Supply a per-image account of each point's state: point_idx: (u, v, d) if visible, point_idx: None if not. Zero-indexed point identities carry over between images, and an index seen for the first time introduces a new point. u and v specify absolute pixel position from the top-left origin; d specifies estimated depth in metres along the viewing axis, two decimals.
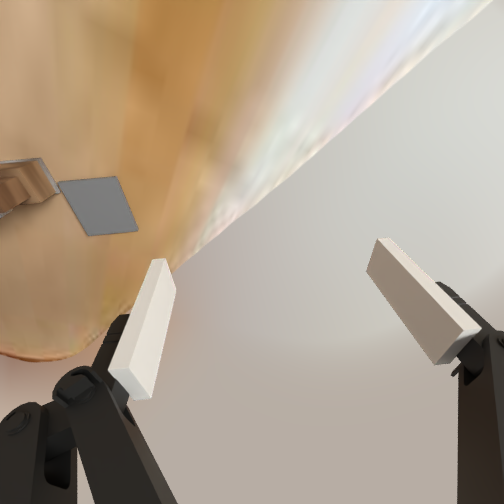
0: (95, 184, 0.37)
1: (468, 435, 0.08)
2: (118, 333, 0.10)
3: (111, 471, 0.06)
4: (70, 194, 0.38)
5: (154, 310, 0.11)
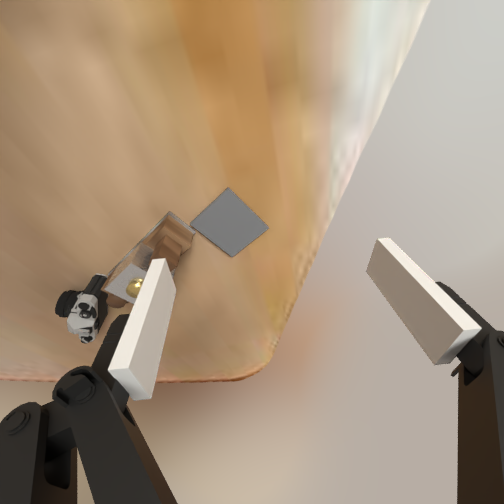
0: (216, 207, 0.37)
1: (468, 435, 0.08)
2: (118, 333, 0.10)
3: (111, 471, 0.06)
4: (203, 228, 0.39)
5: (154, 310, 0.11)
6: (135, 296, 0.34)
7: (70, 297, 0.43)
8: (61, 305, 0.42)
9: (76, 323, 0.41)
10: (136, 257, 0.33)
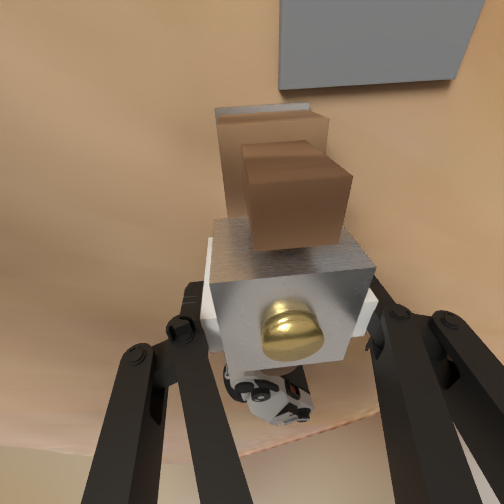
0: None
1: (386, 408, 0.09)
2: (193, 296, 0.12)
3: (199, 406, 0.08)
4: (319, 65, 0.12)
5: None
6: (301, 354, 0.11)
7: None
8: (232, 390, 0.26)
9: (265, 410, 0.22)
10: (218, 257, 0.10)
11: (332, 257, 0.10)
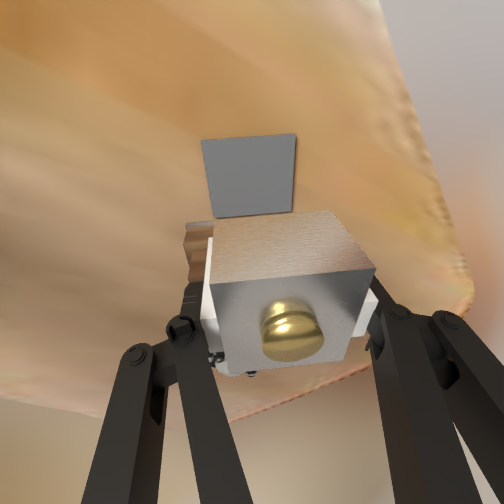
0: (214, 174, 0.26)
1: (386, 408, 0.09)
2: (193, 296, 0.12)
3: (199, 406, 0.08)
4: (228, 209, 0.29)
5: None
6: (301, 355, 0.11)
7: None
8: None
9: (224, 368, 0.39)
10: (218, 258, 0.10)
11: (332, 258, 0.10)
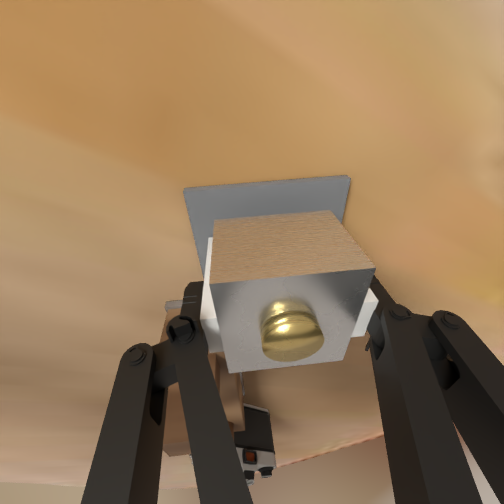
0: None
1: (386, 408, 0.09)
2: (193, 296, 0.12)
3: (199, 406, 0.08)
4: None
5: None
6: (301, 355, 0.11)
7: None
8: None
9: None
10: (218, 257, 0.10)
11: (332, 257, 0.10)
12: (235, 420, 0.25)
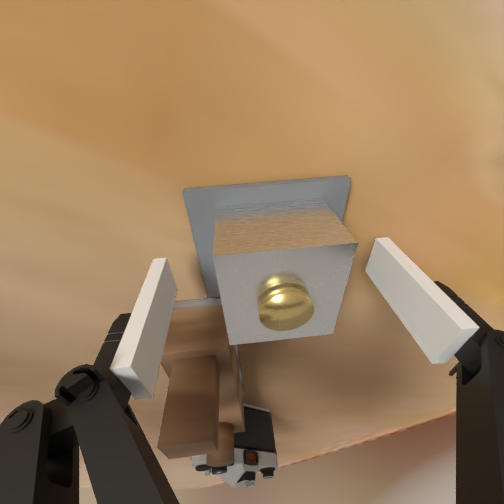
0: (207, 241, 0.16)
1: (466, 434, 0.08)
2: (120, 332, 0.11)
3: (113, 469, 0.06)
4: None
5: (155, 309, 0.11)
6: (294, 324, 0.12)
7: None
8: None
9: (229, 477, 0.28)
10: (221, 236, 0.11)
11: (320, 235, 0.11)
12: (235, 422, 0.25)
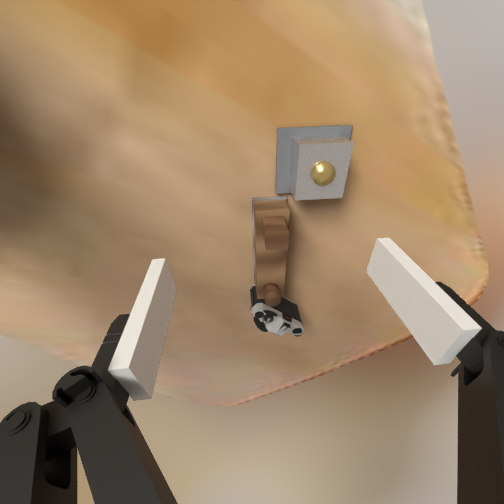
0: (283, 156, 0.33)
1: (468, 435, 0.08)
2: (118, 333, 0.10)
3: (111, 471, 0.06)
4: None
5: (154, 310, 0.11)
6: (326, 182, 0.29)
7: None
8: (259, 324, 0.48)
9: (273, 328, 0.45)
10: (299, 141, 0.28)
11: (339, 141, 0.28)
12: (280, 284, 0.42)
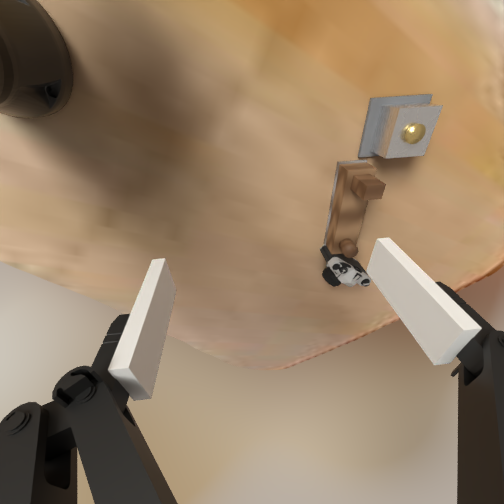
0: (371, 123, 0.39)
1: (468, 435, 0.08)
2: (118, 333, 0.10)
3: (111, 471, 0.06)
4: None
5: (154, 310, 0.11)
6: (416, 140, 0.36)
7: (327, 272, 0.56)
8: (329, 279, 0.55)
9: (347, 279, 0.51)
10: (396, 107, 0.35)
11: (429, 105, 0.35)
12: (354, 239, 0.49)
